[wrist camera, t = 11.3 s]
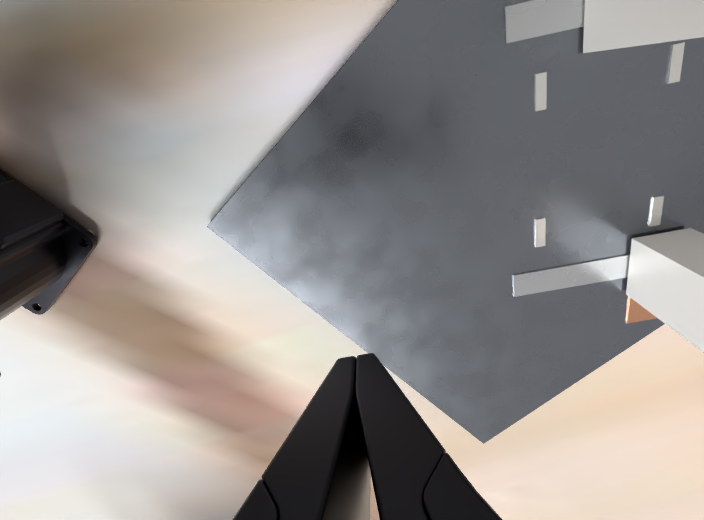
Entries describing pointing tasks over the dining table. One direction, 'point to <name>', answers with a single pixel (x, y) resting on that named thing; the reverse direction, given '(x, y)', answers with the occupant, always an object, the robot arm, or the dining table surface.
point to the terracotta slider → (670, 280)
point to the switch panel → (481, 198)
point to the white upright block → (640, 22)
